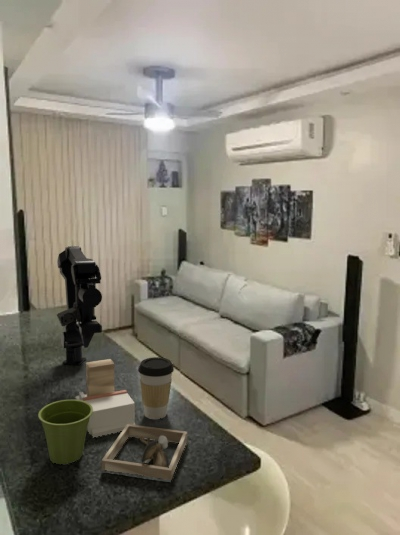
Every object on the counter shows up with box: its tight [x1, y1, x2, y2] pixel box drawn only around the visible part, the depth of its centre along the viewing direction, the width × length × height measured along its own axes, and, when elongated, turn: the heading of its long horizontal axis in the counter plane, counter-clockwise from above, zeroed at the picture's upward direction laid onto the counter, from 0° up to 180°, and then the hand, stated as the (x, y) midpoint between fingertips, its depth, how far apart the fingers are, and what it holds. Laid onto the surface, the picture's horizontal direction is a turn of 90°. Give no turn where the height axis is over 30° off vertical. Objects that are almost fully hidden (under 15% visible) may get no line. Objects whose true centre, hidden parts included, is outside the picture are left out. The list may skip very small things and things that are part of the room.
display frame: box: [101, 424, 188, 480], centre depth 98 cm, size 16×16×3 cm
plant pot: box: [37, 399, 93, 465], centre depth 96 cm, size 12×12×11 cm
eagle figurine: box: [138, 435, 170, 468], centre depth 95 cm, size 8×7×9 cm
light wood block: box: [85, 358, 115, 397], centre depth 120 cm, size 5×7×12 cm, turn 117°
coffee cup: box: [137, 356, 175, 420], centre depth 117 cm, size 10×10×15 cm
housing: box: [75, 389, 136, 439], centre depth 117 cm, size 22×12×6 cm, turn 27°
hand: (85, 347), depth 135 cm, fingers closed
